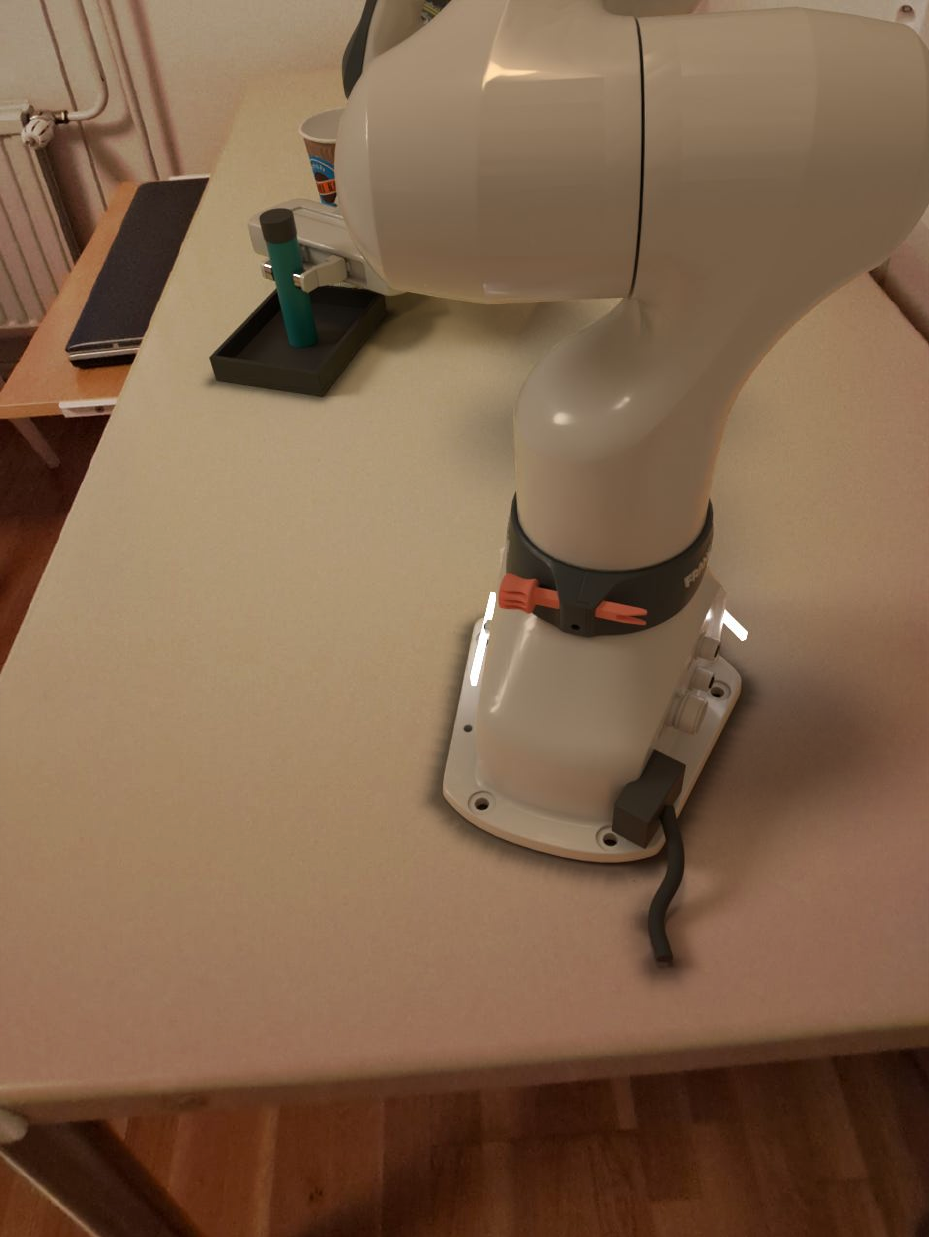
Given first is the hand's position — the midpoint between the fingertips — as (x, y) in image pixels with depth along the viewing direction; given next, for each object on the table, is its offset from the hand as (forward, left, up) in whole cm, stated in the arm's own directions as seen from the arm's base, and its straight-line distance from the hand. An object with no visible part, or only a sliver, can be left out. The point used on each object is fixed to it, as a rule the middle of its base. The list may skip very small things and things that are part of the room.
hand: (282, 278), depth 91 cm
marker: (+1, 0, -7) cm, 7 cm away
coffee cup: (+28, +6, -8) cm, 29 cm away
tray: (+1, 0, -8) cm, 8 cm away
